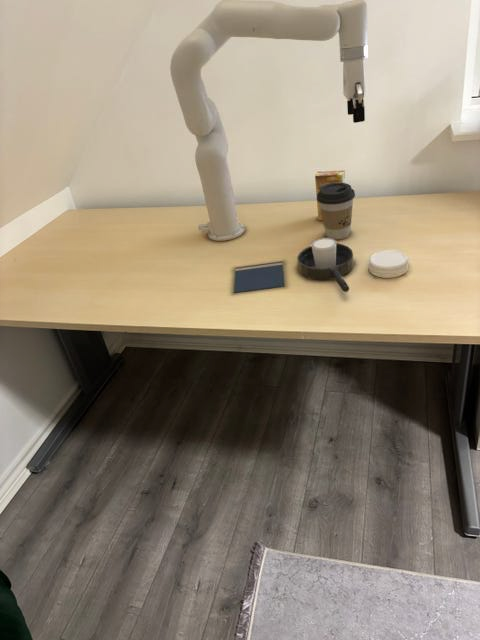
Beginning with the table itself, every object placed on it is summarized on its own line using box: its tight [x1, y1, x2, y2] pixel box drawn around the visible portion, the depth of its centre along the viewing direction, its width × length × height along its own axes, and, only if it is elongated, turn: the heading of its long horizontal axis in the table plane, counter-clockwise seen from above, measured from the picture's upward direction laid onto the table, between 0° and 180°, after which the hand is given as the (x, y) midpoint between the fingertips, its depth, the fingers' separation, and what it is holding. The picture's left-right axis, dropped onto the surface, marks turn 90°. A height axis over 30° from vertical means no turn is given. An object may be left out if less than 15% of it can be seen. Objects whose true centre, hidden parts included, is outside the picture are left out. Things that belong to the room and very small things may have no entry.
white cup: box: [310, 237, 337, 268], centre depth 139 cm, size 7×7×7 cm
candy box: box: [314, 170, 346, 221], centre depth 162 cm, size 9×4×15 cm, turn 70°
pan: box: [297, 242, 355, 281], centre depth 140 cm, size 15×15×4 cm
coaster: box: [368, 249, 409, 279], centre depth 133 cm, size 10×10×4 cm
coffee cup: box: [316, 182, 356, 241], centre depth 151 cm, size 11×11×15 cm
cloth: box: [233, 260, 286, 294], centre depth 142 cm, size 14×14×1 cm
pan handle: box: [330, 267, 350, 293], centre depth 128 cm, size 12×2×2 cm, turn 8°
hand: (356, 117), depth 147 cm, fingers open, 9 cm apart
